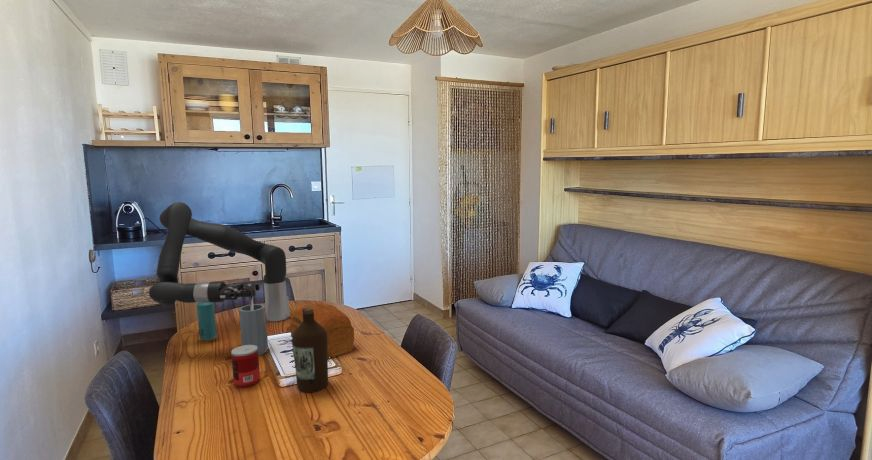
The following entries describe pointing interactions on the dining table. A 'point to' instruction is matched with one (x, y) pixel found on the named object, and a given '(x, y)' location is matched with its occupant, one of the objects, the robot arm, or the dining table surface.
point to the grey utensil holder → (254, 327)
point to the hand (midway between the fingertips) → (255, 290)
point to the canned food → (245, 365)
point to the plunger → (252, 287)
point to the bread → (329, 327)
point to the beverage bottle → (206, 320)
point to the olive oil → (310, 354)
